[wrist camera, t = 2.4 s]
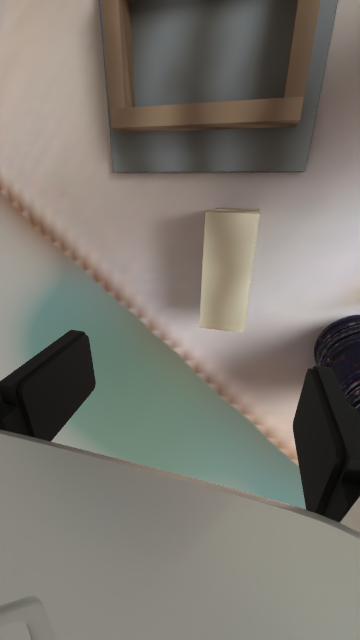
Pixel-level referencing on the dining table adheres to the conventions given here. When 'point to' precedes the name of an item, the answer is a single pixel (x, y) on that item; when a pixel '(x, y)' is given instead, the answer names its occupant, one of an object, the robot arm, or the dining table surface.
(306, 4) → the slot board
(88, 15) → the dining table surface
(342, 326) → the storage jar
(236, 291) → the ash block
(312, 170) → the dining table surface
